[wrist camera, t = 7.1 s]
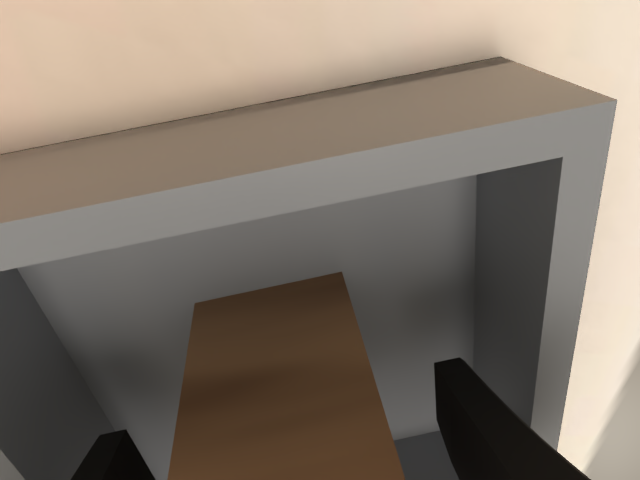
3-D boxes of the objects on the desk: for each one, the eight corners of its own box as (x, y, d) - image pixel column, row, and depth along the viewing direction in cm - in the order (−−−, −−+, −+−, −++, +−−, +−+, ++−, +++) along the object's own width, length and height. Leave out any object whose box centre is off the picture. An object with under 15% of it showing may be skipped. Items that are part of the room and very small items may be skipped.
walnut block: (359, 374, 15) (419, 595, 10) (233, 402, 15) (226, 640, 9) (342, 271, 13) (406, 482, 8) (194, 303, 13) (158, 539, 7)
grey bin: (486, 418, 18) (543, 528, 14) (141, 494, 17) (115, 626, 14) (501, 56, 11) (616, 100, 7) (-65, 167, 10) (-216, 266, 7)
